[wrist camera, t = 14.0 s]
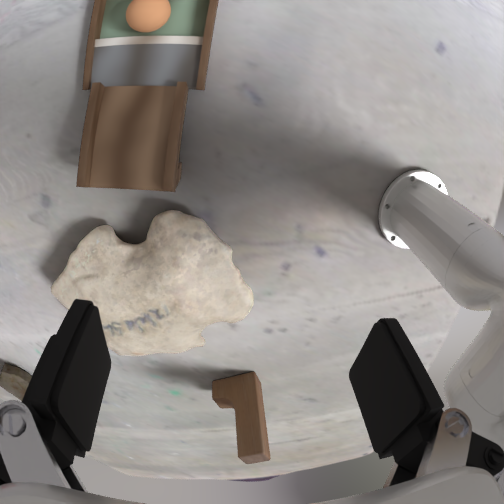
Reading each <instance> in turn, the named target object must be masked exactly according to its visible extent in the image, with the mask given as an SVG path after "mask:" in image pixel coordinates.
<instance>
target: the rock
mask: <svg viewBox="0 0 504 504" xmlns="http://www.w3.org/2000/svg"><path fill="white" fill-rule="evenodd" d="M51 292H52V294H53V295H54V296H55V297H56V298H57V299H58V300H59V301H60V302H61V304H62V305H64V306H65V307H66V308H67V309H68V310H69V309H70V307H71V305H72V303H73V301H74V300H75V299H82V300H89V301H92V302H93V304H94V306H97V307H98V309H99V313H100V318H101V322H102V327H103V331H104V335H105V339H106V343H107V347H109V348H110V349H111V350H112V351H114V352H115V353H117V354H118V355H120V356H144V355H149V354H155V353H171V354H177V353H181V352H185V351H187V350H189V349H192V348H195V347H202V346H204V344H205V339H204V338H203V337H202V336H201V332H202V330H203V329H204V328H205V327H206V326H208V325H210V324H213V323H216V322H228V323H235V322H238V321H241V320H243V319H244V318H245V317H246V315H247V314H248V313H249V312H250V310H251V308H252V306H253V303H254V299H253V292H252V289H251V288H250V287H249V286H248V285H247V284H246V283H245V282H244V280H243V278H242V276H241V273H240V270H239V269H238V268H237V267H235V266H234V264H233V262H232V248H231V247H230V246H229V245H227V244H226V243H224V242H223V241H222V240H221V239H220V238H219V237H218V236H217V235H216V234H215V233H214V232H213V231H212V230H211V229H210V228H209V227H208V225H207V224H206V223H205V221H204V220H203V219H201V218H196V217H194V216H191V215H187V214H184V213H182V212H181V211H176V210H168V211H165V212H162V213H160V214H158V215H156V216H155V217H154V219H153V220H152V223H151V225H150V228H149V231H148V233H147V238H146V240H145V241H144V242H142V243H140V244H128V243H125V242H123V241H122V240H120V239H119V238H118V237H117V236H116V234H115V232H114V230H113V228H112V227H111V226H109V225H102V226H98V227H96V228H95V229H93V230H92V231H91V232H90V233H89V234H87V235H86V236H85V237H84V238H83V239H82V240H81V241H80V242H79V244H78V246H77V248H76V250H75V251H74V252H72V253H71V254H70V256H69V259H68V262H67V265H66V267H65V269H64V270H63V272H62V273H61V274H60V275H59V277H58V278H57V279H56V281H55V282H54V283H53V285H52V287H51Z"/></svg>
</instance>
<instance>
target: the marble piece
mask: <svg viewBox="0 0 504 504" xmlns="http://www.w3.org/2000/svg"><path fill="white" fill-rule="evenodd" d="M31 378H32V376H31V375H30V374H29V373H27V372H25V371H23V370H22V369H20V368H18V367H16V366H11V365H9V364H7V363H5V364H4V366H3V369H2V371H1V374H0V386H1V387H3V388H4V389H5V390H7V391H8V392H9V393H12V394H13V395H14V396H16V397H17V398H19V399H20V400H21V401H22V400H23V397H24V395H25V392H26V390H27V387H28V385H29V382H30V380H31Z"/></svg>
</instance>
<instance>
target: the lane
mask: <svg viewBox="0 0 504 504" xmlns="http://www.w3.org/2000/svg"><path fill="white" fill-rule="evenodd" d="M132 1H133V0H95V2H94V7H93V12H92V18H91V23H90V29H89V35H88V42H87V50H86V58H85V67H84V77H83V90H90V89H91V92H90V96H89V101H88V106H87V111H86V117H85V123H84V129H83V135H82V142H81V149H80V157H79V165H78V175H77V186H76V187H96V188H120V189H138V190H155V191H170V192H175V189H176V187H177V185H178V183H179V181H180V179H181V168H182V163H181V162H178V161H179V153H180V145H181V137H182V130H183V123H184V116H185V109H186V103H187V96H188V89H196V90H205V82H206V75H207V68H208V61H209V54H210V47H211V41H212V35H213V29H214V23H215V17H216V11H217V6H218V1H219V0H168V1H169V3H170V6H171V14H170V17H169V19H168V21H167V22H166V23H165V24H164V25H163V26H162V27H161V28H159V29H157V30H155V31H152V32H139V31H136V30H134V29H132V28H131V27H130V26H129V24H128V23H127V20H126V10H127V8H128V6H129V4H130V3H131V2H132Z"/></svg>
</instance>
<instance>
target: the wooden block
mask: <svg viewBox="0 0 504 504" xmlns="http://www.w3.org/2000/svg"><path fill="white" fill-rule="evenodd" d="M212 398H213V400H214V401H215V402H216V403H217V405H218V406H219V407H220V408H234V409H235V416H236V432H237V447H238V457H239V458H240V459H241V460H242V461H243V462H245V463H246V464H252V463H258V462H263V461H269V460H270V451H269V443H268V435H267V428H266V420H265V412H264V405H263V397H262V389H261V382H260V381H259V379H258V377H257V375H256V373H255V372H249V373H245V374H241V375H237V376H233V377H228V378H224V379H219V380H215V381H213V382H212Z"/></svg>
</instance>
